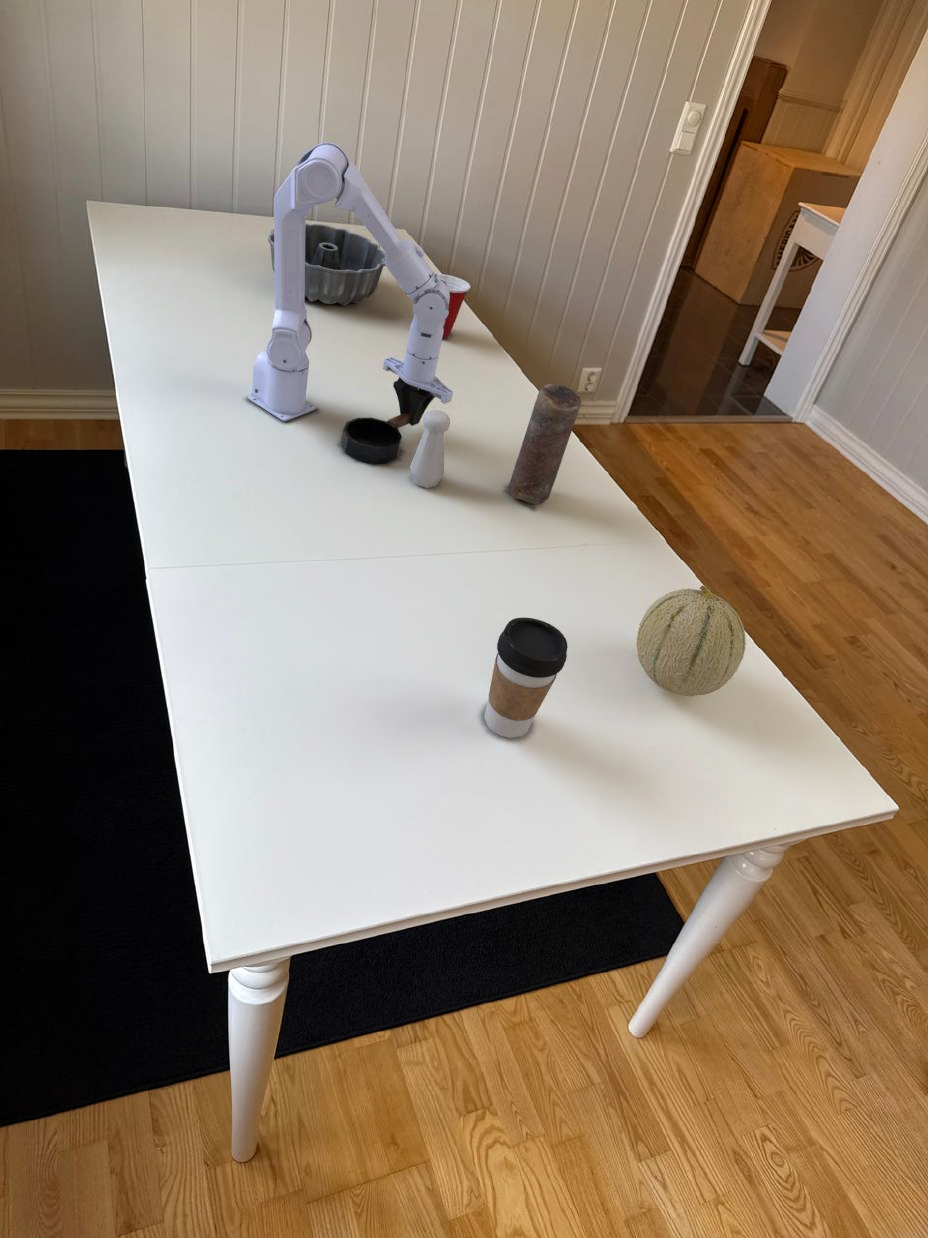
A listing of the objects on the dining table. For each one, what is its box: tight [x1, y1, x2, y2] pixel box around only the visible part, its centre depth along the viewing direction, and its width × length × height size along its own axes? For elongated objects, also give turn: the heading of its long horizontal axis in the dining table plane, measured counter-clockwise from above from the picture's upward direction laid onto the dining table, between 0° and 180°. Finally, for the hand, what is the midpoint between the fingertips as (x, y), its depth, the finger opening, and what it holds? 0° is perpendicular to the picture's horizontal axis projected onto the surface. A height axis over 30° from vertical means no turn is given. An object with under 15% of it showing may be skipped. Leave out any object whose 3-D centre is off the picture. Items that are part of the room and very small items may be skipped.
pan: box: [340, 410, 411, 465], centre depth 156 cm, size 17×10×4 cm, turn 143°
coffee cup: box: [484, 617, 568, 739], centre depth 108 cm, size 8×8×15 cm
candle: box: [507, 383, 582, 505], centre depth 147 cm, size 8×7×20 cm
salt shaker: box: [409, 409, 451, 489], centre depth 146 cm, size 6×6×13 cm
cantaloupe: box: [636, 585, 747, 697], centre depth 121 cm, size 15×15×15 cm
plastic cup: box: [438, 273, 471, 340], centre depth 193 cm, size 11×11×12 cm
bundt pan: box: [267, 222, 386, 306], centre depth 198 cm, size 26×26×10 cm
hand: (409, 420), depth 160 cm, fingers closed on pan, 2 cm apart
